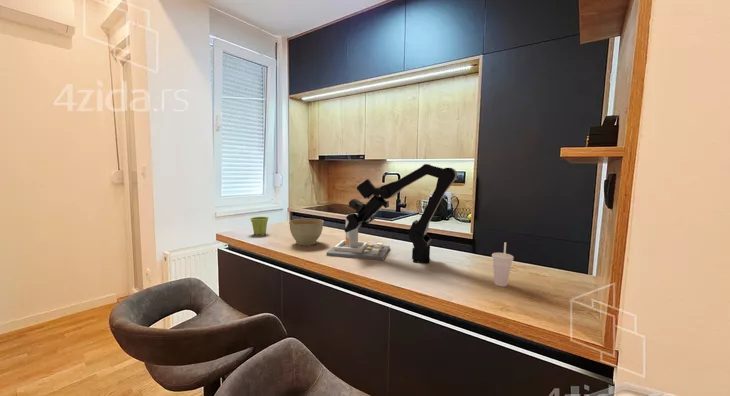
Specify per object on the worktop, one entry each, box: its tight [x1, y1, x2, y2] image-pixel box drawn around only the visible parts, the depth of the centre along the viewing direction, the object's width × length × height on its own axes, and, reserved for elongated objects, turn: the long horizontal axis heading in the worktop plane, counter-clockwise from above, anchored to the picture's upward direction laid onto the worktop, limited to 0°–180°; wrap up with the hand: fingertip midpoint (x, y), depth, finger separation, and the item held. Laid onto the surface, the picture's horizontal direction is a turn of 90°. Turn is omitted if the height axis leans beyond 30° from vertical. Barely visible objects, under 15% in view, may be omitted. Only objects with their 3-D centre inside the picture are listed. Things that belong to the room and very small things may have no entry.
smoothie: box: [491, 242, 514, 288], centre depth 96 cm, size 6×6×14 cm
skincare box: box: [345, 218, 359, 247], centre depth 132 cm, size 6×4×12 cm
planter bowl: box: [288, 218, 324, 246], centre depth 143 cm, size 16×16×11 cm
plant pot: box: [249, 216, 270, 236], centre depth 161 cm, size 9×9×9 cm
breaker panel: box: [325, 239, 390, 261], centre depth 131 cm, size 24×18×3 cm
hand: (349, 230), depth 132 cm, fingers closed on skincare box, 7 cm apart
